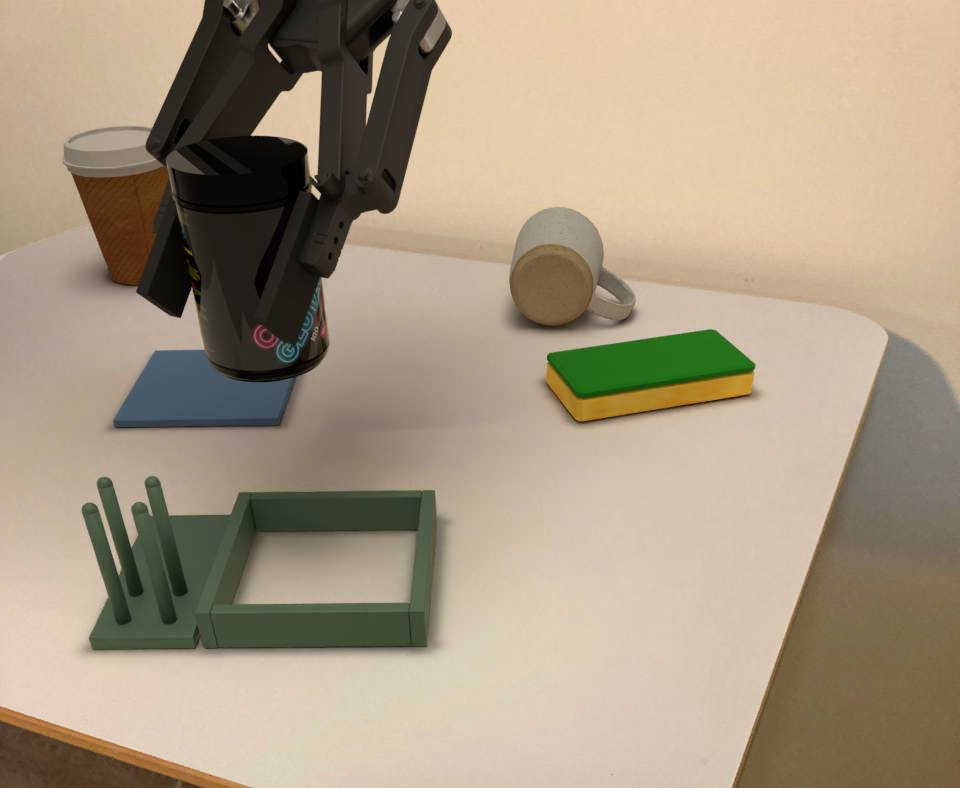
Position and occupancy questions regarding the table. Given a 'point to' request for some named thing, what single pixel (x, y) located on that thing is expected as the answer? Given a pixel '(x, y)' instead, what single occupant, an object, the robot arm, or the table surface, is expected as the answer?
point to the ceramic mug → (564, 270)
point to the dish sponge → (648, 374)
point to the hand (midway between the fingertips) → (215, 318)
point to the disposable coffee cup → (118, 193)
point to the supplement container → (243, 250)
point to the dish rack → (220, 561)
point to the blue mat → (198, 395)
